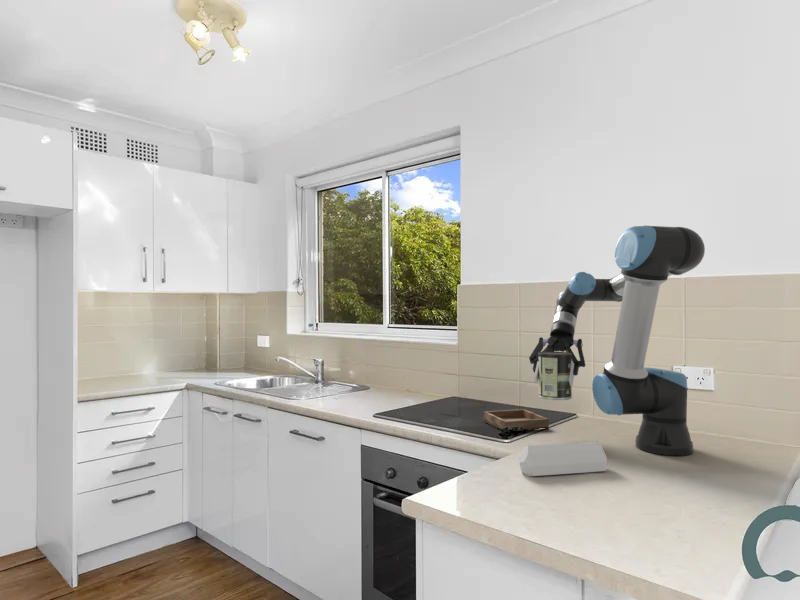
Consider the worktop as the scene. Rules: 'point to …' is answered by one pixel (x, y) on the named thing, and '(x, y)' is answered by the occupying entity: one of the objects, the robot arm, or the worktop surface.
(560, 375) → the coffee can
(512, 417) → the tray
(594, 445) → the crystal
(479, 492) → the worktop surface
